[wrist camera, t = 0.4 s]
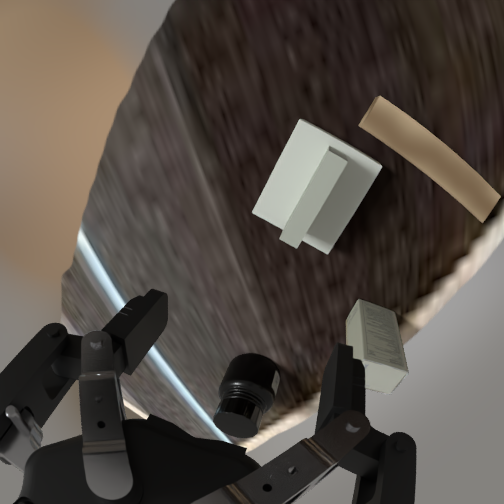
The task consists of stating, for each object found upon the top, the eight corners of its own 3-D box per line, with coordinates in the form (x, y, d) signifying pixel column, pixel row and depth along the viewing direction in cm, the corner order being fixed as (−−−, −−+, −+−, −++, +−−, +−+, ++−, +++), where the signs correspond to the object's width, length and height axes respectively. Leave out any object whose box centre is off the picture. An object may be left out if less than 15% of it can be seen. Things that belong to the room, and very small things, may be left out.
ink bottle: (258, 395, 54) (241, 447, 44) (219, 369, 54) (195, 420, 43) (293, 371, 50) (279, 429, 39) (250, 342, 49) (228, 398, 38)
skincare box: (345, 320, 43) (343, 383, 33) (358, 296, 41) (362, 358, 30) (382, 334, 43) (389, 397, 32) (397, 311, 41) (410, 373, 30)
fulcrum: (302, 118, 34) (294, 119, 27) (378, 162, 33) (390, 175, 26) (257, 205, 39) (239, 227, 32) (328, 244, 39) (326, 275, 32)
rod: (375, 97, 31) (380, 95, 27) (487, 188, 31) (500, 196, 27) (358, 125, 33) (361, 126, 29) (470, 212, 33) (482, 223, 29)
